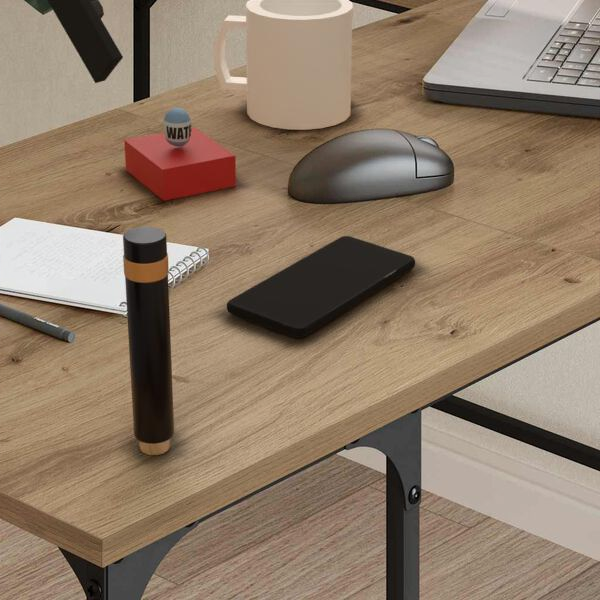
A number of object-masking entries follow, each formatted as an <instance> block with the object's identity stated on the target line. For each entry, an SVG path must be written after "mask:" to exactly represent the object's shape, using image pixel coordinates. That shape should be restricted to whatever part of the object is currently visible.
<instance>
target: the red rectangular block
mask: <svg viewBox="0 0 600 600" xmlns="http://www.w3.org/2000/svg"><path fill="white" fill-rule="evenodd" d="M123 141H124V160H125V161H124V162H125V163H124V164H125V171H126V172H128V173H129V174H130V175H131V176H133V177H134V178H135V179H136V180H137V181H139V182H140V183H141V184H143V186H145V187H146V188H147V189H148V190H150V191H151V192H152V193H154V194H155V195H156V196H157V197H158V198H160V199H161V200H162V201H164V202H165V201H170V200H175V199H180V198H184V197H189V196H194V195H199V194H203V193H210V192H213V191H219V190H224V189H228V188H233V187H236V186H237V176H236V175H237V174H236V173H237V172H236V171H237V169H236V168H237V167H236V154H235V153H233V152H231V151H230V150H228V149H227V148H226V147H224V146H223V145H221V144H220V143H218V142H217V141H216V140H214V139H212V138H211V137H209V136H208V135H207V134H205V133H203V131H201V130H199V129H198V128H197V127H194V126H193V127H192V120H191V117H190V115H189V113H188V112H187V111H186V110H185V109H184V108H182V107H173V108H171V109H169V110H168V111H167V112H166V114H165V115H164V118H163V122H162V132H161V133H155V134H150V135H144V136H138V137H133V138H128V139H127V138H126V139H124V140H123Z"/></svg>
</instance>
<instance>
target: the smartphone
mask: <svg viewBox="0 0 600 600" xmlns="http://www.w3.org/2000/svg"><path fill="white" fill-rule="evenodd" d="M415 267H416V259H415V258H414V256H412V255H409V254H405V253H403V252H400V251H397V250H393V249H391V248H388V247H385V246H380V245H378V244H375V243H372V242H370V241H365V240H363V239H359V238H357V237H353V236H350V235H343V236H340V237H338V238H336V239H335V240H333V241H331V242H330V243H328V244H326V245H324V246H322V247H321V248H319V249H317V250H316V251H314V252H312V253H310V254H309V255H306V256H305V257H304V258H302V259H300V260H298V261H296V262H294V263H293V264H290V265H289V266H288V267H285V268H283V269H282V270H280V271H279V272H277V273H275V274H272V275H271V276H269V277H268V278H266V279H264V280H262V281H261V282H259V283H257V284H255V285H254V286H252V287H250V288H248V289H246V290H245V291H243V292H241V293H239V294H238V295H236V296H234V297H233V298H231V299H229V300H228V301H227V303H226V310H227V312H228V313H229V314H231V315H234V316H235V317H239V318H242V319H244V320H246V321H249V322H252V323H255V324H257V325H259V326H262V327H265V328H267V329H271V330H272V331H276V332H278V333H282V334H284V335H286V336H289V337H292V338H295V339H302V338H306V337H307V336H308V335H310V334H312V333H313V332H315V331H317V330H319V328H321V327H323V326H325V325H326V324H328V323H330V322H331V321H333V320H334V319H336V318H337V317H339V316H340V315H342V314H344V313H345V312H347V311H348V310H349V309H351V308H354V306H356V305H358V304H359V303H361V302H363V301H364V300H365V299H367V298H368V297H370V296H372V295H373V294H375V293H376V292H378V291H380V290H381V289H383V288H385V287H386V286H388V285H389V284H391V283H392V282H394V281H395V280H397V279H399V278H400V277H401V276H403V275H405V274H407V273H408V272H410V271H411V270H412V269H413V268H415Z"/></svg>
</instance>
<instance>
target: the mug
mask: <svg viewBox="0 0 600 600" xmlns="http://www.w3.org/2000/svg"><path fill="white" fill-rule="evenodd" d="M353 7H354V3H353V2H352V1H350V0H248V1H246V4H245V15H233V14H232V15H231V14H228V15H227V16H226V18H224V20H223V22H222V24H221V25H220V28H219V30H218V32H217V34H216V37H215V38H214V40H213V66H212V67H213V70H214V71H215V75H216V79H217V81H218V84H219V88H220V89H221V90H232V91H246V114H247V115H248V117H249V118H250V119H251V120H252V121H254V122H256V123H258V124H260V125H263V126H266V127H270V128H275V129H283V130H297V131H299V130H302V131H303V130H304V131H307V130H317V129H324V128H328V127H333V126H336V125H339V124H341V123H343V122H345V121H347V119H349V118H350V117H351V101H352V61H353V60H352V59H353V57H352V55H353V54H352V53H353V13H354V10H353V9H354V8H353ZM231 29H239V30H240V29H241V30H245V33H246V34H245V44H246V45H245V47H246V48H245V49H246V51H245V54H246V59H245V60H246V77H244V76H243V77H241V76H232V75H231V74H230V71H229V67H228V64H227V62H226V39H227V36H228V34H229V32H230V30H231Z"/></svg>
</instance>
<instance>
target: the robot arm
mask: <svg viewBox="0 0 600 600" xmlns="http://www.w3.org/2000/svg"><path fill="white" fill-rule="evenodd" d="M47 2H48V4H49V6H50V8H51V9H52V11H53V12H54V14H55V16H56V18H57V19H58V22H59V23H60V25H61V27H62V28H63V30H64V32H65V33H66V35H67V37H68V38H69V40H70V42H71V44H72V45H73V47H74V49H75V51H76V52H77V54H78V56H79V57H80V59H81V61H82V62H83V64H84V66H85V67H86V70H87V71H88V73H89V75H90V76H91V78H92V80H93V82H94V84H98V83H102V82H105V81H107V79H108V77H109V76H110V75H111V73H112V72H113V71H114V70H115V68H116V67H117V66H118V64H119V63H120V62H121V61H122V60H123V58H124V56H123V54H122V53H121V50H120V49H119V48H118V46H117V44H116V42H115V41H114V39H113V38H112V36H111V34H110V32H109V30H108V28H107V27H106V25H105V24H104V22H103V20H102V18H103V17H104V15H105V12H104V6H103V5H102V3H101V2H100V0H47Z"/></svg>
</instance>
